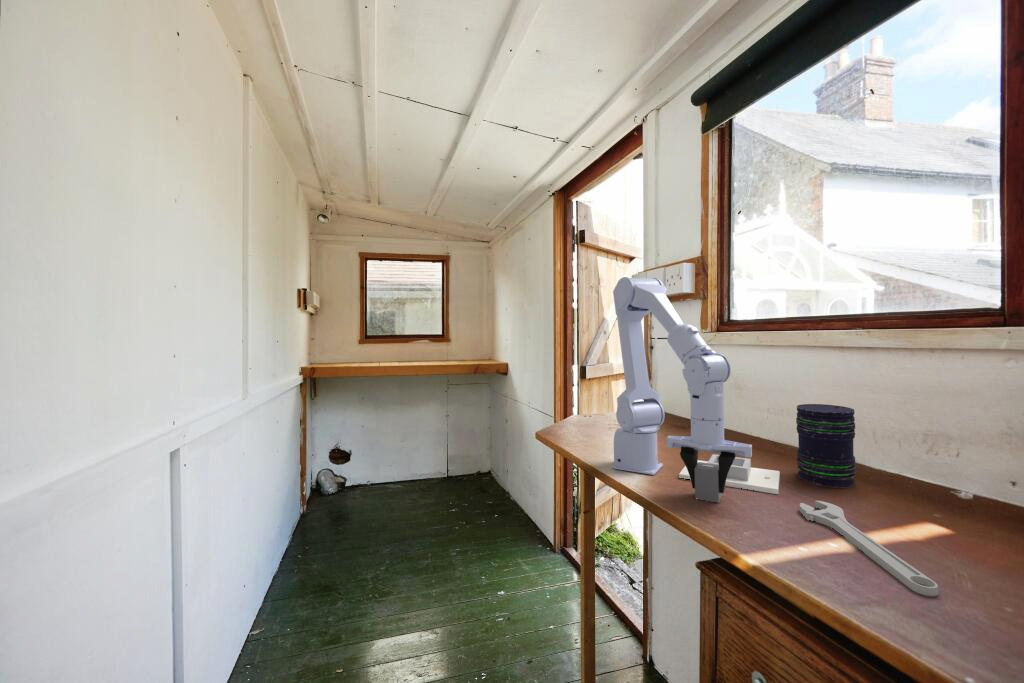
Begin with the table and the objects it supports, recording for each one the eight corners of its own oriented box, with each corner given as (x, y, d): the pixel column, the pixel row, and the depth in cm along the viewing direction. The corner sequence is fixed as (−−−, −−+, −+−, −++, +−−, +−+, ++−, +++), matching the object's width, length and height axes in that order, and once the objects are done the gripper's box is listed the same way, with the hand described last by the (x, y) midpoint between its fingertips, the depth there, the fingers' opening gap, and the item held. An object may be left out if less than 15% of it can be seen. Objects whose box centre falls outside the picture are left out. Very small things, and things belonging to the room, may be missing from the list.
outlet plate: (679, 478, 91) (678, 462, 90) (690, 463, 100) (690, 448, 100) (778, 494, 81) (777, 476, 80) (779, 475, 91) (779, 459, 90)
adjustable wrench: (946, 602, 49) (945, 587, 49) (882, 596, 51) (881, 582, 51) (832, 510, 74) (832, 500, 74) (791, 508, 75) (791, 498, 75)
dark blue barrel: (824, 489, 82) (823, 413, 82) (785, 473, 92) (784, 405, 92) (869, 486, 84) (868, 411, 83) (826, 470, 93) (825, 403, 93)
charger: (695, 499, 79) (694, 467, 79) (699, 492, 83) (698, 461, 83) (718, 503, 77) (718, 470, 77) (721, 496, 81) (721, 464, 80)
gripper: (662, 418, 80) (663, 488, 81) (749, 425, 72) (750, 504, 73) (671, 411, 86) (672, 477, 87) (752, 418, 78) (753, 490, 78)
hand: (708, 489), depth 80 cm, fingers closed on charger, 4 cm apart
